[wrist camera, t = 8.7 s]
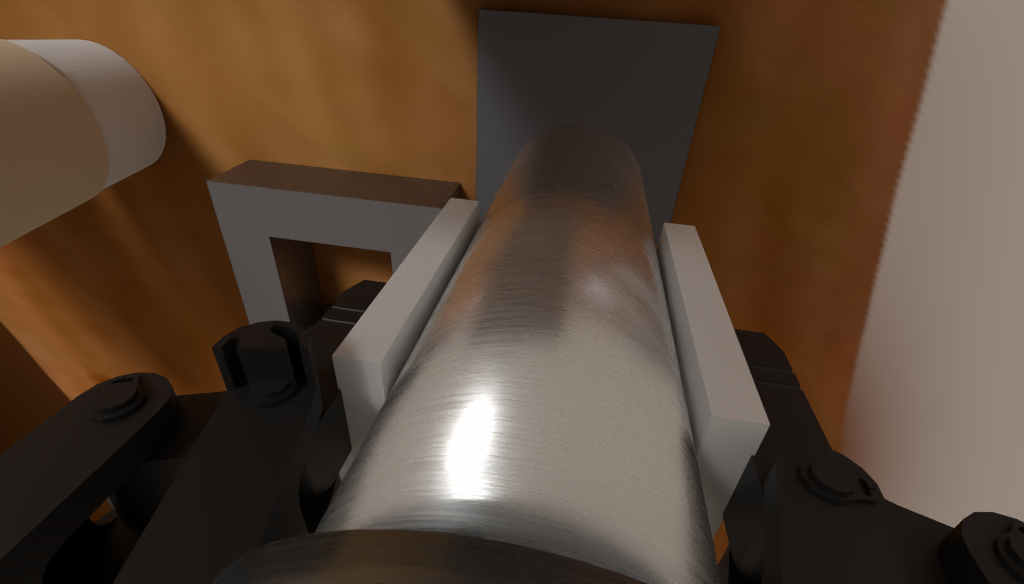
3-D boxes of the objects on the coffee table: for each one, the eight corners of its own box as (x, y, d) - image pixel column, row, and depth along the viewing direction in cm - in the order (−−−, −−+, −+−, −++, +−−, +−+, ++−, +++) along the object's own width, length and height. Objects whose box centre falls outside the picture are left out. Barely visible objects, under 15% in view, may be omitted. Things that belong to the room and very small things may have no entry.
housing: (249, 159, 27) (205, 180, 24) (459, 183, 25) (441, 208, 22) (292, 330, 33) (261, 364, 30) (461, 356, 32) (446, 393, 29)
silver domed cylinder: (496, 96, 16) (-91, 650, 3) (678, 112, 15) (1203, 980, 2) (490, 253, 19) (219, 869, 6) (641, 273, 19) (736, 1017, 5)
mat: (481, 8, 21) (478, 9, 20) (717, 25, 20) (720, 26, 19) (477, 220, 26) (475, 223, 26) (663, 242, 25) (664, 246, 25)
